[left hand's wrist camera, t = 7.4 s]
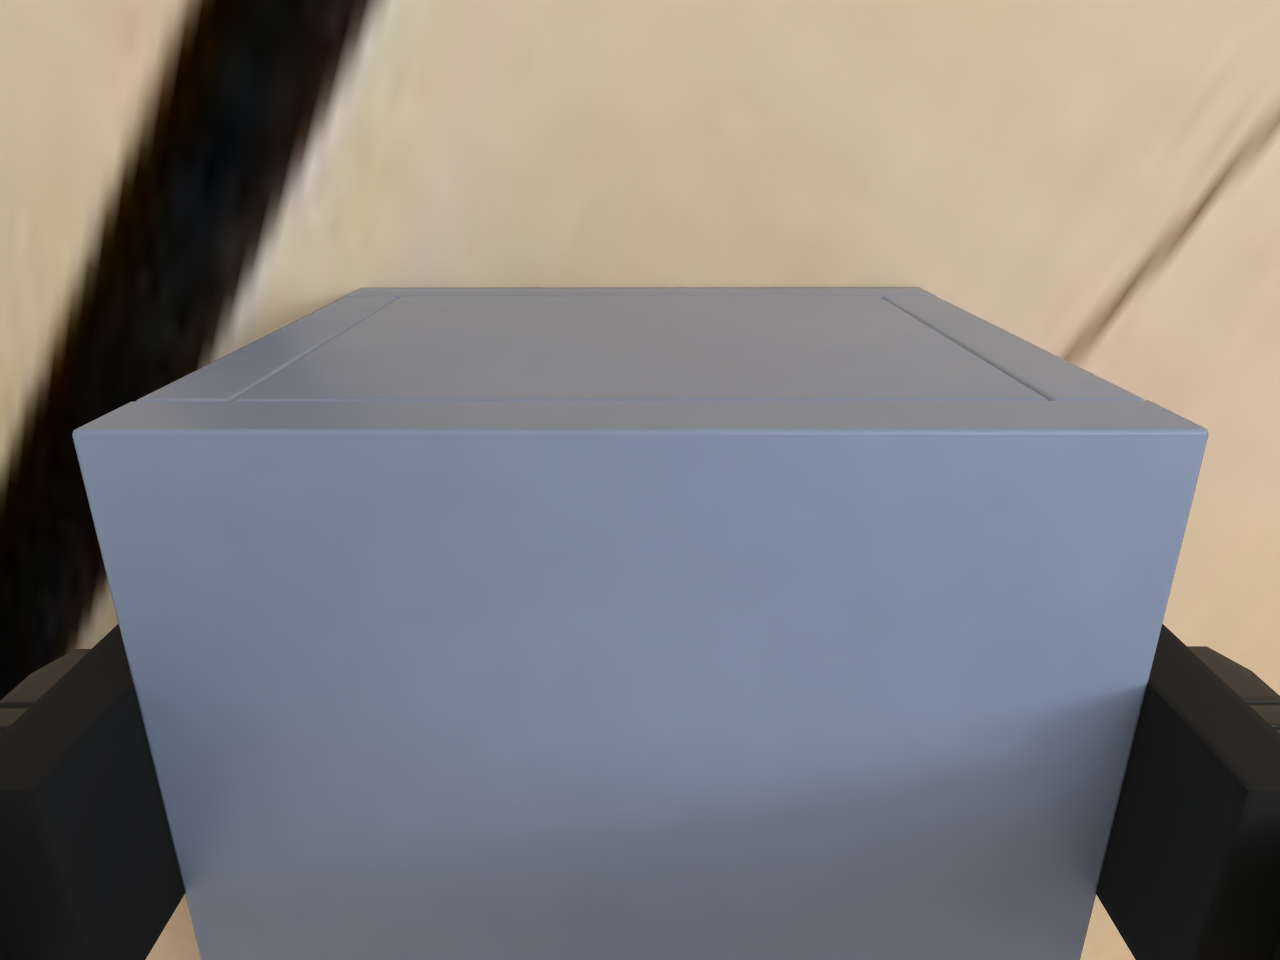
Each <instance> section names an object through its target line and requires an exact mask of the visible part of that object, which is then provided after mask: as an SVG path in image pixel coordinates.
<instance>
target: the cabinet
mask: <svg viewBox="0 0 1280 960" xmlns="http://www.w3.org/2000/svg"><path fill="white" fill-rule="evenodd" d="M72 436H73V440H74V444H75V448H76V452H77V456H78V460H79V464H80V468H81V472H82V477H83V481H84V485H85V489H86V493H87V497H88V501H89V505H90V509H91V513H92V517H93V521H94V525H95V529H96V533H97V537H98V541H99V545H100V550H101V554H102V558H103V562H104V566H105V570H106V574H107V578H108V582H109V586H110V590H111V594H112V598H113V602H114V606H115V610H116V614H117V618H118V623H119V627H120V631H121V635H122V639H123V643H124V647H125V651H126V655H127V659H128V663H129V667H130V671H131V675H132V679H133V683H134V687H135V691H136V696H137V700H138V704H139V708H140V712H141V716H142V720H143V724H144V728H145V732H146V736H147V740H148V744H149V748H150V752H151V756H152V760H153V765H154V769H155V773H156V777H157V781H158V785H159V789H160V793H161V797H162V801H163V805H164V809H165V813H166V817H167V821H168V825H169V829H170V833H171V838H172V842H173V846H174V850H175V854H176V858H177V862H178V866H179V870H180V874H181V878H182V882H183V886H184V890H185V894H186V898H187V902H188V906H189V911H190V915H191V919H192V923H193V927H194V931H195V935H196V939H197V943H198V947H199V951H200V955H201V959H202V960H1080V957H1081V953H1082V949H1083V945H1084V941H1085V937H1086V933H1087V929H1088V925H1089V921H1090V917H1091V913H1092V908H1093V904H1094V900H1095V896H1096V892H1097V888H1098V884H1099V880H1100V876H1101V872H1102V868H1103V863H1104V859H1105V855H1106V851H1107V847H1108V843H1109V839H1110V835H1111V831H1112V827H1113V823H1114V819H1115V814H1116V810H1117V806H1118V802H1119V798H1120V794H1121V790H1122V786H1123V782H1124V778H1125V774H1126V769H1127V765H1128V761H1129V757H1130V753H1131V749H1132V745H1133V741H1134V737H1135V733H1136V729H1137V725H1138V720H1139V716H1140V712H1141V708H1142V704H1143V700H1144V696H1145V692H1146V688H1147V684H1148V680H1149V676H1150V671H1151V667H1152V663H1153V659H1154V655H1155V651H1156V647H1157V643H1158V639H1159V635H1160V631H1161V626H1162V622H1163V618H1164V614H1165V610H1166V606H1167V602H1168V598H1169V594H1170V590H1171V586H1172V582H1173V577H1174V573H1175V569H1176V565H1177V561H1178V557H1179V553H1180V549H1181V545H1182V541H1183V537H1184V532H1185V528H1186V524H1187V520H1188V516H1189V512H1190V508H1191V504H1192V500H1193V496H1194V492H1195V488H1196V483H1197V479H1198V475H1199V471H1200V467H1201V463H1202V459H1203V455H1204V451H1205V447H1206V443H1207V438H1208V430H1207V429H1206V428H1204V427H1202V426H1200V425H1198V424H1195V423H1193V422H1191V421H1189V420H1187V419H1185V418H1183V417H1181V416H1179V415H1177V414H1175V413H1173V412H1171V411H1169V410H1167V409H1165V408H1163V407H1161V406H1159V405H1157V404H1155V403H1153V402H1151V401H1145V400H1144V399H1142V398H1140V397H1138V396H1136V395H1134V394H1132V393H1130V392H1128V391H1126V390H1124V389H1122V388H1120V387H1118V386H1116V385H1114V384H1112V383H1110V382H1108V381H1106V380H1104V379H1102V378H1100V377H1098V376H1096V375H1094V374H1092V373H1090V372H1088V371H1086V370H1084V369H1082V368H1080V367H1078V366H1076V365H1074V364H1072V363H1070V362H1068V361H1066V360H1064V359H1062V358H1060V357H1058V356H1056V355H1054V354H1052V353H1049V352H1047V351H1045V350H1043V349H1041V348H1039V347H1037V346H1035V345H1033V344H1031V343H1029V342H1027V341H1025V340H1023V339H1021V338H1019V337H1017V336H1015V335H1013V334H1011V333H1009V332H1007V331H1005V330H1003V329H1001V328H999V327H997V326H995V325H993V324H991V323H989V322H987V321H985V320H983V319H981V318H979V317H977V316H975V315H973V314H971V313H969V312H967V311H965V310H963V309H961V308H959V307H957V306H955V305H953V304H951V303H949V302H946V301H944V300H942V299H940V298H938V297H937V296H936V295H934V294H932V293H930V292H928V291H926V290H923V289H921V288H919V287H836V288H360V289H358V290H356V291H354V292H352V293H350V294H348V295H346V296H344V297H343V298H341V299H339V300H337V301H335V302H333V303H331V304H329V305H327V306H325V307H323V308H321V309H319V310H317V311H315V312H313V313H311V314H309V315H307V316H305V317H303V318H301V319H299V320H297V321H295V322H293V323H291V324H289V325H287V326H285V327H283V328H281V329H279V330H277V331H275V332H273V333H271V334H269V335H267V336H265V337H263V338H261V339H259V340H257V341H255V342H253V343H251V344H249V345H247V346H245V347H243V348H241V349H239V350H237V351H235V352H233V353H231V354H229V355H227V356H225V357H223V358H221V359H219V360H217V361H215V362H213V363H210V364H208V365H206V366H204V367H202V368H200V369H198V370H196V371H194V372H192V373H190V374H188V375H186V376H184V377H182V378H180V379H178V380H176V381H174V382H172V383H170V384H168V385H166V386H164V387H162V388H160V389H158V390H156V391H154V392H152V393H150V394H148V395H146V396H144V397H142V398H140V399H138V400H137V401H136V402H130V403H128V404H126V405H124V406H122V407H120V408H118V409H116V410H114V411H112V412H110V413H108V414H106V415H104V416H102V417H100V418H97V419H95V420H93V421H91V422H89V423H87V424H85V425H83V426H81V427H79V428H77V429H75V430H74V431H73V435H72Z"/></svg>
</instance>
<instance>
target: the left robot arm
mask: <svg viewBox="0 0 1280 960" xmlns="http://www.w3.org/2000/svg"><path fill="white" fill-rule="evenodd" d="M184 894H185V890H184V886H183V882H182V878H181V874H180V870H179V866H178V862H177V858H176V854H175V850H174V846H173V842H172V838H171V833H170V829H169V825H168V821H167V817H166V813H165V809H164V805H163V801H162V797H161V793H160V789H159V785H158V781H157V777H156V773H155V769H154V765H153V760H152V756H151V752H150V748H149V744H148V740H147V736H146V732H145V728H144V724H143V720H142V716H141V712H140V708H139V704H138V700H137V696H136V691H135V687H134V683H133V679H132V675H131V671H130V667H129V663H128V659H127V655H126V651H125V647H124V643H123V639H122V635H121V631H120V627H119V624H118V625H117V626H116V627H115V628H114V629H112V630H111V631H110V632H109V633H108V634H107V635H106V636H105V637H104V638H103V639H102V640H101V641H100V642H99V643H98V644H97V645H95V646H94V647H93V648H92V649H75V650H73V651H71V652H70V653H68V654H66V655H64V656H62V657H61V658H59V659H57V660H55V661H53V662H51V663H50V664H48V665H46V666H44V667H42V668H41V669H39V670H37V671H35V672H33V673H31V674H30V675H29V676H28V677H27V678H26V679H24V680H23V681H22V682H21V683H20V684H19V685H18V686H16V687H15V688H14V689H13V690H12V691H11V692H10V693H9V694H7V695H6V696H5V697H4V698H3V699H2V700H1V701H0V960H145V959H146V957H147V956H148V954H149V952H150V951H151V949H152V947H153V946H154V944H155V942H156V941H157V939H158V937H159V936H160V934H161V932H162V931H163V929H164V927H165V926H166V924H167V922H168V921H169V919H170V917H171V916H172V914H173V912H174V911H175V909H176V907H177V906H178V904H179V902H180V901H181V899H182V897H183V896H184ZM1096 894H1097V896H1098V897H1099V899H1100V901H1101V902H1102V904H1103V906H1104V908H1105V909H1106V911H1107V913H1108V914H1109V916H1110V918H1111V919H1112V921H1113V923H1114V924H1115V926H1116V928H1117V929H1118V931H1119V933H1120V934H1121V936H1122V938H1123V939H1124V941H1125V943H1126V944H1127V946H1128V948H1129V949H1130V951H1131V953H1132V954H1133V956H1134V958H1135V959H1136V960H1280V696H1279V695H1278V694H1277V693H1276V692H1275V691H1274V690H1272V689H1271V688H1270V687H1269V686H1268V685H1267V684H1266V683H1264V682H1263V681H1262V680H1261V679H1260V678H1259V677H1258V676H1256V675H1255V674H1254V673H1253V672H1252V671H1250V670H1249V669H1247V668H1245V667H1243V666H1241V665H1239V664H1238V663H1236V662H1234V661H1232V660H1230V659H1228V658H1227V657H1225V656H1223V655H1221V654H1219V653H1217V652H1216V651H1214V650H1212V649H1210V648H1208V647H1187V646H1186V645H1185V644H1183V643H1182V642H1181V641H1180V640H1179V639H1178V638H1177V637H1176V636H1175V635H1174V634H1173V633H1172V632H1171V631H1170V630H1169V629H1167V628H1166V627H1165V626H1164V625H1163V624H1162V626H1161V631H1160V635H1159V639H1158V643H1157V647H1156V651H1155V655H1154V659H1153V663H1152V667H1151V671H1150V676H1149V680H1148V684H1147V688H1146V692H1145V696H1144V700H1143V704H1142V708H1141V712H1140V716H1139V720H1138V725H1137V729H1136V733H1135V737H1134V741H1133V745H1132V749H1131V753H1130V757H1129V761H1128V765H1127V769H1126V774H1125V778H1124V782H1123V786H1122V790H1121V794H1120V798H1119V802H1118V806H1117V810H1116V814H1115V819H1114V823H1113V827H1112V831H1111V835H1110V839H1109V843H1108V847H1107V851H1106V855H1105V859H1104V863H1103V868H1102V872H1101V876H1100V880H1099V884H1098V888H1097V892H1096Z"/></svg>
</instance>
